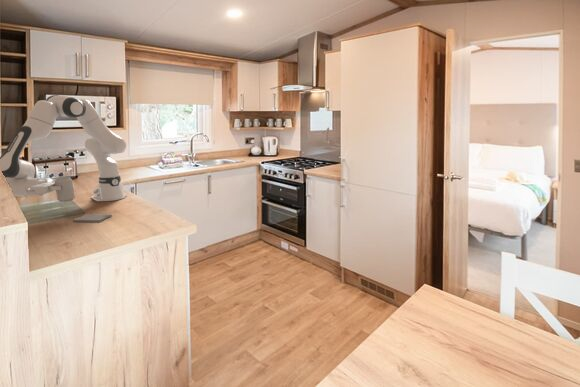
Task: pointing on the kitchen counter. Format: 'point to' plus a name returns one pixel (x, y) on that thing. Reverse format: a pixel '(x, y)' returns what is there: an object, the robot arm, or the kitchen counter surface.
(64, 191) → the can
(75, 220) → the slate tile
